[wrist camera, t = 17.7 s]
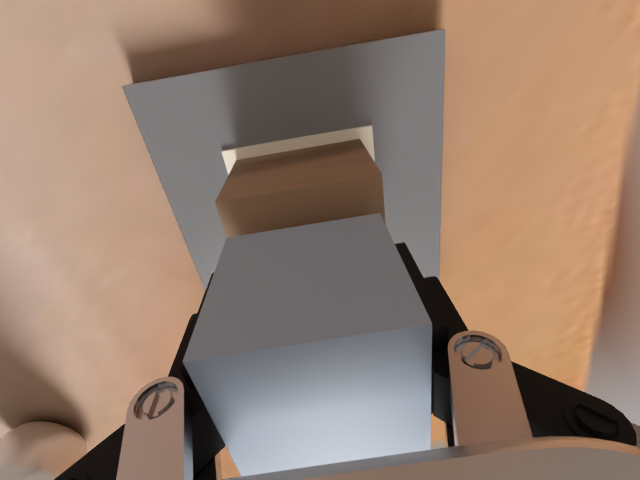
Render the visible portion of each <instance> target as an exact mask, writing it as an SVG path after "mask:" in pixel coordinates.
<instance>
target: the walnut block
mask: <svg viewBox="0 0 640 480" xmlns="http://www.w3.org/2000/svg"><path fill="white" fill-rule="evenodd" d="M215 204H216V207H217V210H218V213H219V216H220V219H221V222H222V225H223V228H224V231H225V234H226V237H227V238H229V237H235V236H241V235H247V234H253V233H260V232H266V231H272V230H278V229H284V228H290V227H297V226H303V225H309V224H315V223H321V222H327V221H334V220H340V219H346V218H352V217H358V216H364V215H371V214H377V213H380V214H381V216H382V219H383V221H384V223H385V225H386V222H385V208H384V194H383V179H382V173H381V171H380V170H379V168H378V167H377V165H376V163H375V162H374V160H373V159H372V157H371V156H370V154H369V152H368V151H367V149H366V148H365V146H364V144H363V143H362V141H361V140H360V139H355V140H349V141H344V142H338V143H332V144H326V145H320V146H315V147H309V148H303V149H297V150H292V151H286V152H280V153H274V154H268V155H263V156H257V157H251V158H245V159H240V160H236V161H235V163H234V165H233V167H232V169H231V171H230V173H229V175H228V177H227V179H226V181H225V183H224V185H223V187H222V189H221V191H220V193H219V195H218V197H217V199H216V201H215Z"/></svg>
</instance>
